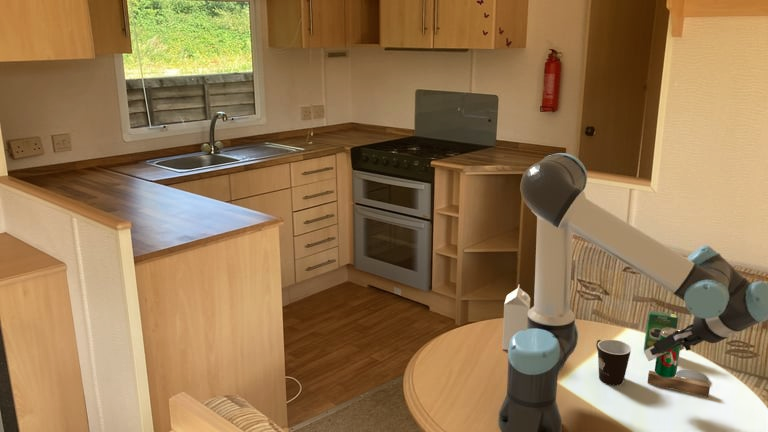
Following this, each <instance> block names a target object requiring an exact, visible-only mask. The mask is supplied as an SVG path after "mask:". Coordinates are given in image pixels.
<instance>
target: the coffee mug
mask: <svg viewBox="0 0 768 432" xmlns="http://www.w3.org/2000/svg"><path fill="white" fill-rule="evenodd" d="M596 350H597V358H598V359H597V360H598V361H597V362H598V364H597V365H598V379H599V380H600V382H602V383H603V384H605V385H608V386H614V387H615V386H620V385H622V384H624V381H625V376H626V371H627V368H628V364H629V360H630V356H631V351H632V346H630V345H629V344H628V343H626V342H624V341H621V340H618V339H610V338H609V339H598V340H597V341H596Z"/></svg>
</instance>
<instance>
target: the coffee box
mask: <svg viewBox="0 0 768 432" xmlns="http://www.w3.org/2000/svg"><path fill="white" fill-rule="evenodd" d="M678 322H679V316H678V314H677V313H669V312H668V313H667V312H662V311H655V310H654V311H653V310H649V312H648V318H647V324H646V331H645V336H644V345H643V352H644V351H645V350H646V349H648V348H650V347H652V346H653V344H654V343H655V342H656V340H659V335H660V332H661V331H662V329H663V328H674V329H677V330H678Z"/></svg>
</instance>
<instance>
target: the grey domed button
mask: <svg viewBox="0 0 768 432" xmlns="http://www.w3.org/2000/svg"><path fill="white" fill-rule="evenodd" d="M676 376H677V377H681V378H685V379H690V380H694V381H699V382H703V383H708V384H709V381H710V380H709V377H708V376H707V375H706V374H705V373H703V372H701V371H699V370H695V369H690V368H689V369H687V368H685V369H679V370H678V371H677V372H676Z"/></svg>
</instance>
